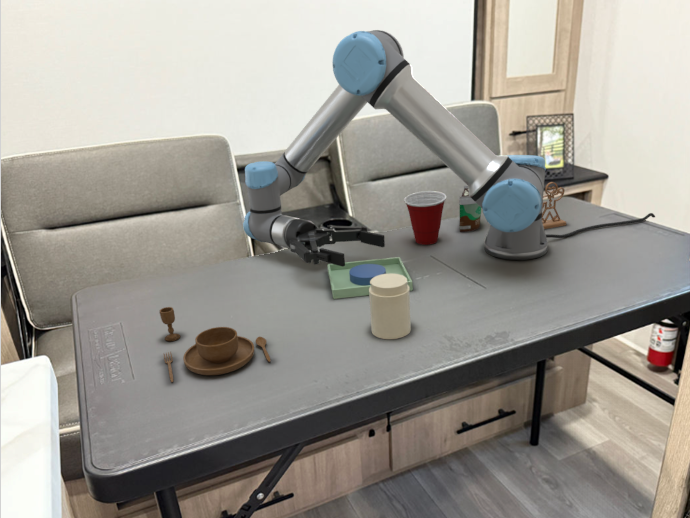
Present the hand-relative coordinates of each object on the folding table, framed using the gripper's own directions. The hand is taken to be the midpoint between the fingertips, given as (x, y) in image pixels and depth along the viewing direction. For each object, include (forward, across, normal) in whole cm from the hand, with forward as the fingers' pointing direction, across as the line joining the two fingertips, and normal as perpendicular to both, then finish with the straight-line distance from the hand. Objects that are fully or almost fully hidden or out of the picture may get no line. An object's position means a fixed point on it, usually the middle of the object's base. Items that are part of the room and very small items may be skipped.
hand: (364, 250), depth 132 cm
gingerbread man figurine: (+18, -56, -7) cm, 59 cm away
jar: (+19, +16, -7) cm, 26 cm away
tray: (+1, 0, -7) cm, 7 cm away
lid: (0, 0, -5) cm, 5 cm away
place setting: (-3, +39, -7) cm, 40 cm away
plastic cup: (-3, -28, -7) cm, 29 cm away
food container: (+1, -45, -7) cm, 45 cm away
